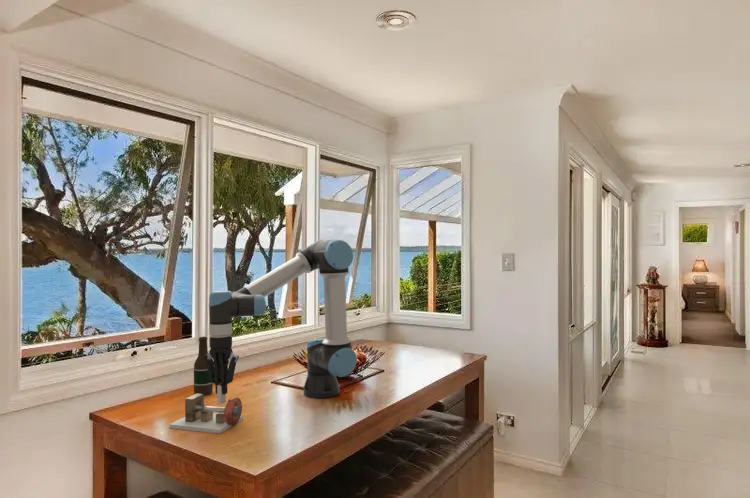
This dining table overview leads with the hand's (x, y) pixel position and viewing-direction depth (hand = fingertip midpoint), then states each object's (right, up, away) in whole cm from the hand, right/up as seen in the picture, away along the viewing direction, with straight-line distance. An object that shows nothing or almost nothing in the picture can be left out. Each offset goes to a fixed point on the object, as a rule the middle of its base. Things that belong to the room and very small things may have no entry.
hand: (221, 403), depth 169 cm
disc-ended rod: (-4, -7, +1) cm, 8 cm away
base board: (-6, -8, +2) cm, 10 cm away
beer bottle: (-20, -8, +38) cm, 43 cm away
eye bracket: (-5, -6, +2) cm, 8 cm away
